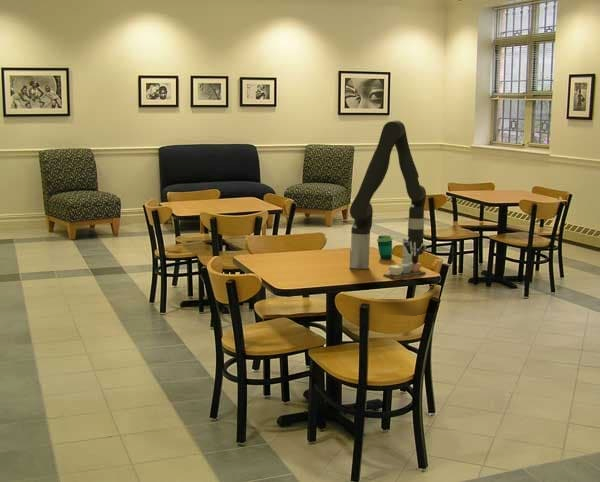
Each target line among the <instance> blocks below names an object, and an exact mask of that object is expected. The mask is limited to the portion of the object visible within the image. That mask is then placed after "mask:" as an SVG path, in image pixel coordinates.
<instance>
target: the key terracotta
mask: <svg viewBox="0 0 600 482" xmlns="http://www.w3.org/2000/svg"><path fill="white" fill-rule="evenodd" d="M407 264H409V265H412V269H411V271H413V272H414V273H415V272H416V271H421V270H420V269H422V263H420V262H417V263H416V264H414V263H412V262H411V263H407Z"/></svg>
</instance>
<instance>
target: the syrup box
mask: <svg viewBox="0 0 600 482" xmlns="http://www.w3.org/2000/svg"><path fill="white" fill-rule="evenodd" d="M408 238H409V237H403V238H402V254H401V255H402V257H401V258H402V260H401V261H402V262H401V264H407V263H411V262H412V255H411V254H409V253H408V251H407V249H406V247H405V245H404V243H406V242H407V241H408ZM413 249H414V248H413Z"/></svg>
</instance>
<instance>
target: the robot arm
mask: <svg viewBox="0 0 600 482" xmlns="http://www.w3.org/2000/svg"><path fill="white" fill-rule="evenodd" d="M394 147H395V149H396V152H397V156H398V157H397V158H398V159H397V160H398V165H399V169H400V172H401V175H402V177H403V180H404V184H405V189H406V193H407V195H408V198H409V199H410V200H411V203H410V207H409V209H408V210H409V211H408V221H407V238H408V241H407V242H406V243H404V245H405V247H406V249H407V251H408V253H409V254H411V255H412V263H414V264H416V263H419V256H421V255H423V253H424V252H425V250H426V249H427V247H428V245H426V244H424V239H423V238H424V237H425V234H424V233H425V220H424V219H425V204H426V200H427V191H426V189H425V187H424V186H423V185H421V184H420V181H419V177H420V176H419V172H418V169H417V167H416V164H415V161H414V158H413V156H412V152H411V149H410V146H409V141H408V136H407V130H406V127H405V124H404V123H403V122H402V121H400V120H390V121H387V122H386V123H385V124H384V125H383V127H382V129H381V133H380V136H379V140H378V142H377V146H376V148H375V151H374V153H373V155H372V157H371V159H370V162H369V164H368V166H367V169H366V172H365V174H364V177H363V179H362V182H361V184H360V187H359V190H358V191H357V194H356V196H355V198H354V199H353V201H352V203H351V205H350V207H349V215H350V217H351V218H352V219H353V220H354V222H353V225H352V226H351V231H350V233H351V236H350V249H349V269H350V268H351V269H355V270H365V269H369V267H370V249H371V248H370V245H371V243H370V241H371V228H372V225H373V213H374V211H373V209H374V208H373V205H372V203H371V200H372V198H373V196H374V194H376V191H377V190H378V189H379V188H380V186H381V184H382V183H383V182H384V180H385V178H386V175H387V173H388V169H389V166H390V161H391V160H390V159H391V158H390V157H391V154H392V151H393V148H394ZM413 248H414V249H413Z"/></svg>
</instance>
